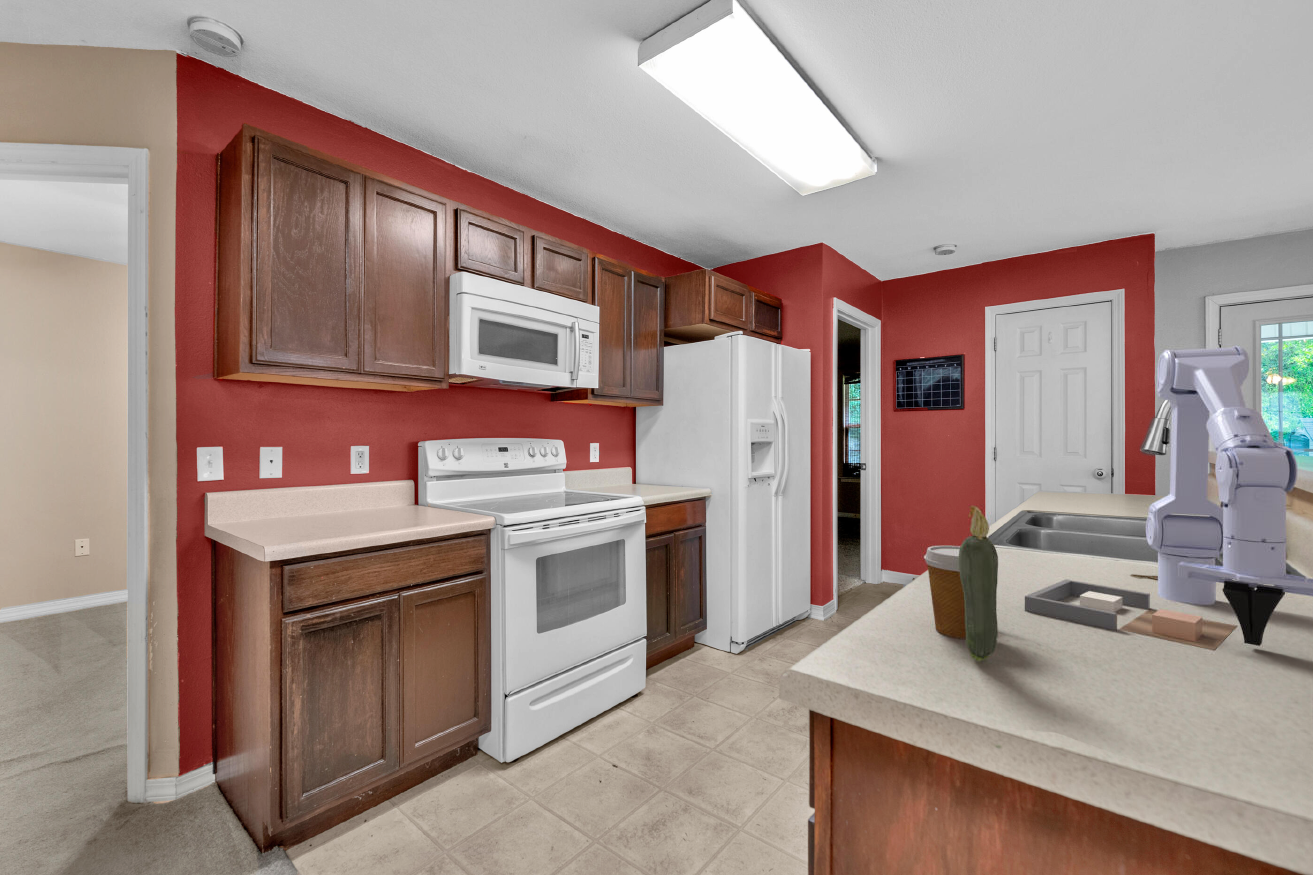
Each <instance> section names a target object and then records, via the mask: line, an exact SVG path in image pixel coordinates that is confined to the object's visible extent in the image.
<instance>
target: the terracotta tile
mask: <svg viewBox="0 0 1313 875" xmlns="http://www.w3.org/2000/svg"><path fill="white" fill-rule="evenodd" d="M1156 611H1157V612H1156V613H1154V614H1153V615H1152V632H1153V633H1158V634H1162V635H1167V636H1172V637H1177V638H1181V639H1186V640H1191V641H1196V640H1197V639H1198V638H1199V637H1200V636H1201V635H1202V619H1203V616H1200V615H1195V614H1188V613H1184V612H1179V611H1174V610H1168V609H1162V608H1160V609H1158V610H1156Z"/></svg>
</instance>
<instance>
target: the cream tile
mask: <svg viewBox="0 0 1313 875" xmlns="http://www.w3.org/2000/svg"><path fill="white" fill-rule="evenodd" d="M1079 606H1084V607H1089V608H1094V609H1099V610H1104V611H1109V612H1114V613H1117V612H1118V611H1120V610H1122V609H1123V604H1122V597H1119V596H1113V595H1108V594H1102V593H1097V592H1091V591H1088V592H1086V593H1084V594H1082V595H1080V596H1079Z"/></svg>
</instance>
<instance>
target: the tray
mask: <svg viewBox="0 0 1313 875" xmlns="http://www.w3.org/2000/svg"><path fill="white" fill-rule="evenodd" d="M1088 591H1091V592H1097V593H1102V594H1108V595H1113V596H1119V597H1122V606H1129V607H1135V608H1139V609H1144V610H1145V609H1146V610H1149V609H1150V608H1151V598H1150V597H1151V593H1148V592H1141V591H1137V590H1130V589H1124V588H1118V587H1113V586H1106V585H1102V584H1095V583H1090V582H1084V581H1077V580H1073V579H1066V578H1065V579H1063V580H1061V581H1059V582H1056V583H1053V584H1052V585H1048V586H1046V587H1044V588H1041V589H1039V590H1036V591H1034V592H1032V593H1029V594H1027V595H1024V612H1029V613H1033V614H1038V615H1041V616H1047V617H1052V618H1055V619H1059V620H1064V621H1069V622H1073V623H1078V624H1081V625H1082V624H1083V625H1086V626H1087V625H1088V626H1092V627H1097V628H1101V629H1106V630H1110V631H1114V632H1115V631H1117V629H1118V613H1117V612H1109V611H1104V610H1099V609H1094V608H1089V607H1084V606H1080V604H1079V605H1078V604H1074V603H1067V602H1064V601H1061V600H1062V599H1064V598H1066V597H1068V596H1076V597H1080V595H1082V594H1084V593H1086V592H1088Z"/></svg>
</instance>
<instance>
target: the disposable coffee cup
mask: <svg viewBox="0 0 1313 875" xmlns="http://www.w3.org/2000/svg"><path fill="white" fill-rule="evenodd" d="M960 546H961V545H960ZM960 546H959V545H931V546H929V547H927V550H926V554H924V556H923V559H924V560H925V563H926V564H927V572H928V579H929V581H928V582H929V586H930V595H931V603H932V611H933V619H934V625H935V626H934V627H935V630H936V631H937V632H938V633H939V634H942V635H945V636H947V637H951V638H955V639H963V640H966V628H965V602H964V592H963V587H962V583H961V579H960V571H959V550H960Z"/></svg>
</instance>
